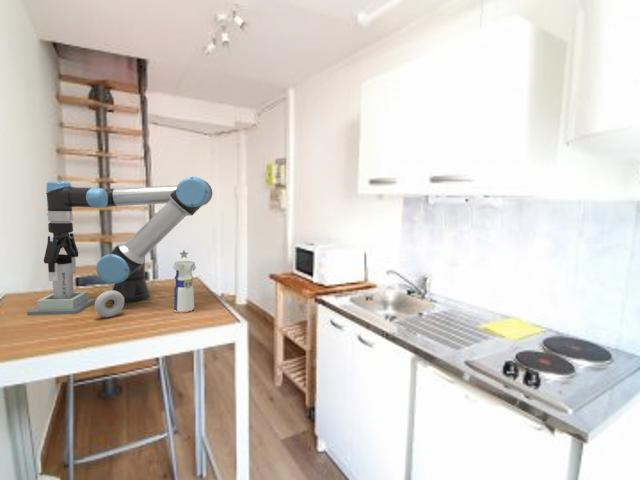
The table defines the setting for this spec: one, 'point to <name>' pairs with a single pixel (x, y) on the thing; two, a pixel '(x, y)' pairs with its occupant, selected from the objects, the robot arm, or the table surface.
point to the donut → (104, 298)
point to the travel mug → (64, 278)
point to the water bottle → (184, 284)
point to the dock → (62, 304)
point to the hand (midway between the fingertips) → (63, 276)
